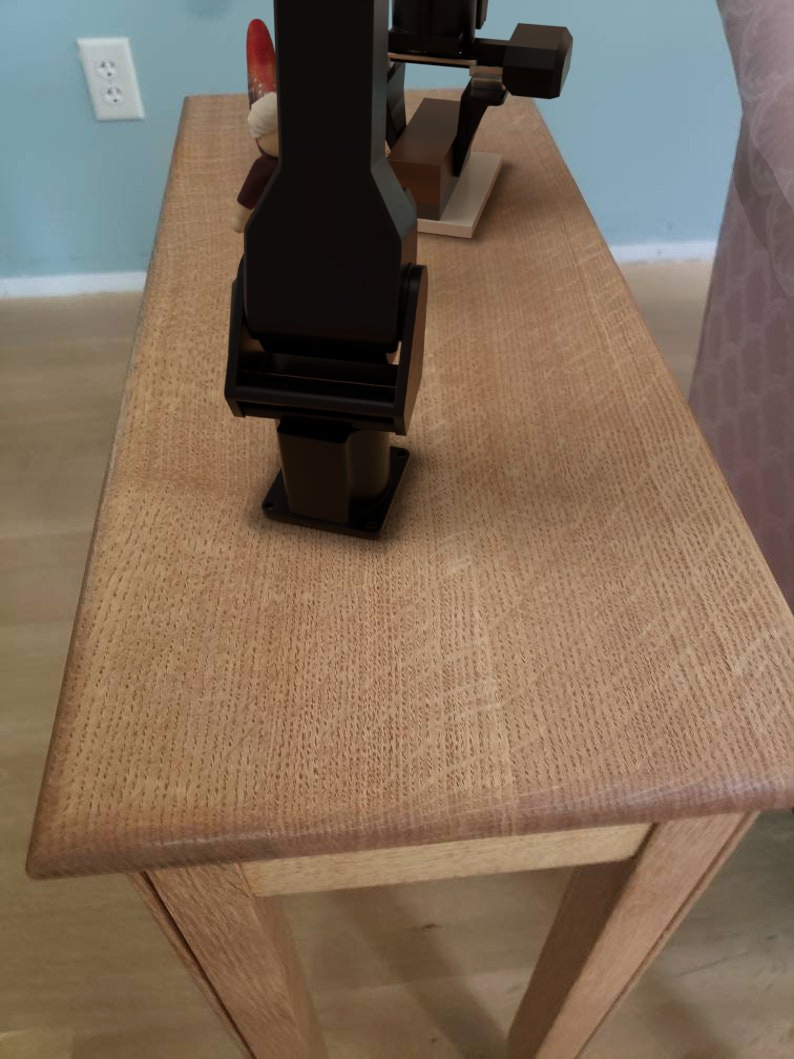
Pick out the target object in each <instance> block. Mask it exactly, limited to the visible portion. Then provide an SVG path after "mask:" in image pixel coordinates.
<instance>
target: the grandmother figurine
mask: <svg viewBox="0 0 794 1059" xmlns="http://www.w3.org/2000/svg"><path fill="white" fill-rule="evenodd" d="M251 107H252V109H251V111H250V110H249V114H248V116H247V118H246V120H247V124H248V126H249V127H250V130H249V131H250V135H251V136H252V137H253V138H254V139H255V138H257V139H258V142H259V144H260V146H261V148H262V149H263V150H264V151H265V152H266V153H265V154H264V155H260V156H259V157H258V158H256V159H255V160H254V162H253V163H252V165H251V167H250V169H249V171H248V173H247V176H246V177H245V180H244V182H243V184H242V186H241V188H240V191H239V193H238V195H237V197H236V205H235V208H234V217H233V218H232V221H231V229H232V230H233V231H234V232H235V233H237V234H244V228H245V225H246V223H247V221H248V219H249V217H250V215H251V213H252V212H253V210H254V208H255V206H256V204H257V202H258V200H259V199H260V197H261V195H262V193H263V191H264V189H265V187H266V185H267V184H268V182H269V180H270V178H271V176H272V174H273V172H274V171H275V169H276V167H277V165H278V155H279V148H278V119H277V94H276V93H274V92H271V93H269V94H267V95H266V96H264V97H262V98H260V99H259V100H257V101H256V102H255V103H254V104H252V105H251Z"/></svg>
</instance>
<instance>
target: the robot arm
mask: <svg viewBox="0 0 794 1059" xmlns="http://www.w3.org/2000/svg"><path fill="white" fill-rule="evenodd" d="M272 3H273V5H272V6H273V31H274V32H273V35H274V50H275V63H276V91H277V119H278V148H279V155H278V165H277V167H276V169H275V171H274V172H273V174H272V176H271V178H270V180H269V182H268V184H267V185H266V187H265V189H264V191H263V193H262V195H261V197H260V199H259V200H258V202H257V204H256V206H255V208H254V209H253V211H252V213H251V215H250V217H249V219H248V221H247V223H246V225H245V228H244V232H243V253H242V256H241V258H240V260H239V264H238V266H237V271H236V272H237V273H236V277H235V278H234V279H233V281H232V283H231V289H230V307H229V308H230V310H229V325H228V326H229V327H228V343H227V344H228V345H227V360H226V369H225V378H224V387H223V396H224V399H225V401H226V404H227V406H228V408H229V409H230V411H231V414H232V416H233V417H234V418H241V419H242V418H244V419H245V418H246V417H251V418H260V419H268V420H274V426H275V433H276V440H277V447H278V453H279V459H280V466H281V467H280V469H279V470H278V472H277V474H276V476H275V478H274V480H273V482H272V484H271V486H270V487H269V490H268V492H267V493H266V495H265V497H264V499H263V501H262V503H261V505H260V507H261V513H262V515H263V516H264V517H266V518H267V519H273V520H277V521H283V522H288V523H293V524H296V525H302V526H307V527H312V528H316V529H321V530H327V531H330V532H331V531H332V532H336V533H341V534H346V535H351V536H356V537H359V538H360V537H361V538H366V539H372V540H373V539H377V538H379V537H381V535H382V534H383V531H384V529H385V526H386V524H387V521H388V518H389V516H390V513H391V511H392V508H393V506H394V503H395V501H396V497H397V495H398V493H399V490H400V487H401V485H402V482H403V480H404V476H405V475H406V471H407V469H408V467H409V464H410V461H411V453H410V451H409V450H408V449H406V448H404V447H400V446H393V445H391V433H392V434H395V436H400V437H407V436H408V433H409V429H410V426H411V421H412V418H413V413H414V409H415V405H416V402H417V398H418V394H419V390H420V386H421V382H422V378H423V367H424V355H425V354H424V353H425V352H424V350H425V340H426V339H425V338H426V322H427V308H428V294H429V271H428V265H427V264H418V231H417V230H418V221H417V207H416V204H415V201H414V199H413V196H412V194H411V192H410V190H409V188H405V187H401V185H400V183H399V181H398V179H397V177H396V175H395V173H394V172H393V170H392V168H391V166H390V164H389V162H388V160H387V155H386V145H387V147H388V149H389V151H390V152H391V150H392V149H393V147H394V146H395V144H396V142H397V141H398V139H399V137H400V136H401V134H402V133H403V131H404V129H405V128H406V126H407V125H408V123H407V111H406V99H405V98H406V97H405V78H406V67H407V66H406V65H407V64H414V65H422V66H423V65H425V66H432V67H433V66H434V67H444V68H455V69H465V70H466V69H467V70H469V72H468V76H469V77H470V78H469V81H468V83H467V84H466V86H465V88H464V90H463V91H462V93H461V96H460V100H459V101H460V108H459V117H458V126H457V135H456V144H455V153H454V176H455V177H460V175H461V173H462V170H463V168H464V165H465V162H466V159H467V157H468V154H469V151H470V149H471V150H472V146H473V143H474V140H475V137H476V135H477V132H478V130H479V127H480V124H481V121H482V119H483V117H484V116H485V113H486V111H487V109H488V108H489V107H501V106H503V105H504V104H505V102H506V100H507V98H508V96H509V94H510V95H511V96H512V97H521V98H532V99H542V100H553V99H557V98H560V96H561V94H562V91H563V88H564V85H565V82H566V81H567V77H568V74H569V72H570V70H571V61H572V54H573V49H574V48H573V46H574V36H573V35H572V34H571V32H570V30H569V28H568V27H567V26H561V25H547V24H536V23H523V22H518V23H517V24H516V26H515V28H514V30H513V32H512V34H511V35H510V38H509V40H508V39H500V38H499V39H498V38H486V37H477V36H476V30H480V31H481V30H482V27H483V26H484V24H485V22H486V21H487V14H488V6H489V0H391V28H390V29H389V26H390V25H389V24H390V21H389V20H390V16H389V15H390V0H272ZM399 346H400V349H399ZM398 351H399V356H398V357H399V359H398V364H396V363H394V362H395V361H396V357H397V354H398ZM371 528H372V529H371Z"/></svg>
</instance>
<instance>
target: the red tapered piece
mask: <svg viewBox="0 0 794 1059" xmlns="http://www.w3.org/2000/svg"><path fill="white" fill-rule="evenodd" d="M245 51H246V52H245V53H246V55H245V57H246V75H247V76H246V80H247V98H248V108H249V112H250V111H251V109H252V107H251V105H252V104H254V103H255V102H256V101H257V100H259V99H260V98H262V97H264V96H266V95H267V94H269V93H271V92H274V93H276V94H277V91H276V63H275V45H274V42H273V39H272V36H271V34H270V31H269V28H268V26H267V24H266V23H265V22H264V21H263V20H262V19H260V18H253V19H251V21H250V22H249V24H248V26H247V30H246V40H245ZM254 140H255V143H256V146H257V149H258V151H259V153H260V156H262V155H264V154H265V153H266V152H265V151H264V150H263V149H262V148H261V146H260V144H259V142H258V139H257V138H254Z"/></svg>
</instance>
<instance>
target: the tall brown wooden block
mask: <svg viewBox="0 0 794 1059" xmlns="http://www.w3.org/2000/svg"><path fill="white" fill-rule="evenodd" d="M459 108H460V100H452V99H444V98H443V99H441V98H433V97H423V98H422V100H421V102H420V103H419V105H418V107H416V110H415V111H414V113H413V115H412V117H411V118H410V120H409V121H408V123H407V126H406V128H405V129H404V131H403V133H402V134H401V136H400V137H399V139H398V141H397V142H396V144H395V146H394V147H393V149H392V150H391V151H390V152H389V154H388V156H386V158H387V160H388V162H389V164H390V166H391V168H392V170H393V172H394V173H395V175H396V177H397V179H398V181H399V183H400V185H401V187H405V188H409V190H410V192H411V194H412V196H413V199H414V201H415V204H416V207H417V218H419V219H427V220H434V221H439V220H440V218H441V216H442V214H443V212H444V210H445V208H446V206H447V203H448V201H449V199H450V197H451V195H452V193H453V191H454V189H455V187H456V185H457V183H458V180H459V178H460V177H455V176H454V153H455V144H456V135H457V126H458V117H459ZM471 151H472V148H471V149H470V151H469V154H468V157H467V159H466V162H465V165H464V168H465V166H466V164H467V162H468V160H469V157H470V155H471ZM464 168H463V170H464ZM463 170H462V172H463ZM461 174H462V173H461ZM460 176H461V175H460Z"/></svg>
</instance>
